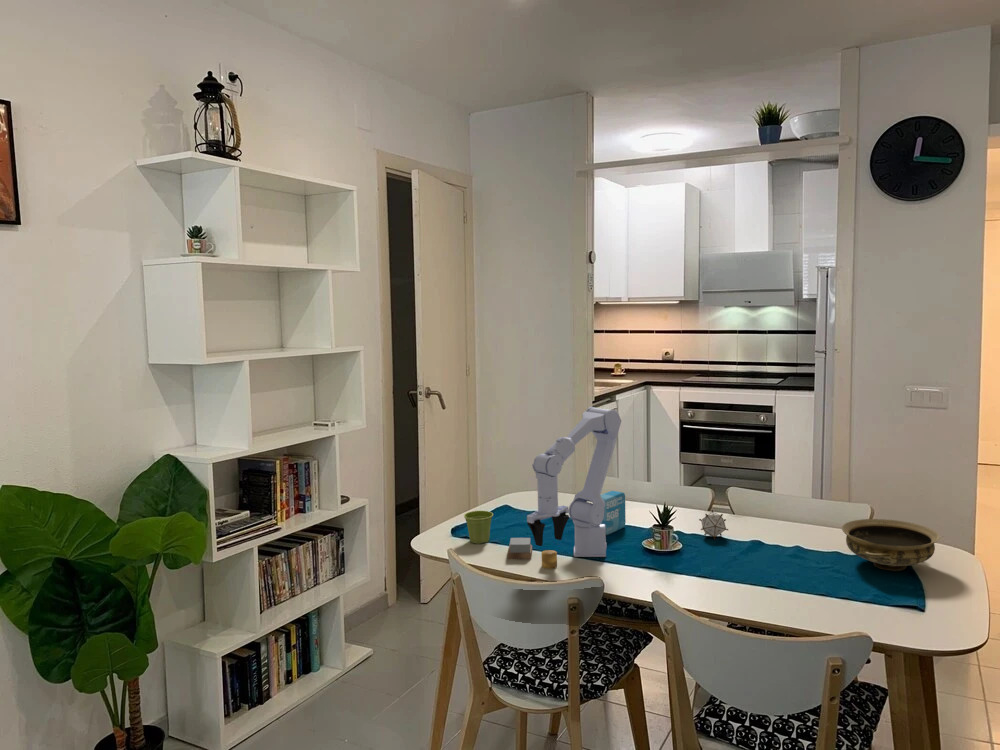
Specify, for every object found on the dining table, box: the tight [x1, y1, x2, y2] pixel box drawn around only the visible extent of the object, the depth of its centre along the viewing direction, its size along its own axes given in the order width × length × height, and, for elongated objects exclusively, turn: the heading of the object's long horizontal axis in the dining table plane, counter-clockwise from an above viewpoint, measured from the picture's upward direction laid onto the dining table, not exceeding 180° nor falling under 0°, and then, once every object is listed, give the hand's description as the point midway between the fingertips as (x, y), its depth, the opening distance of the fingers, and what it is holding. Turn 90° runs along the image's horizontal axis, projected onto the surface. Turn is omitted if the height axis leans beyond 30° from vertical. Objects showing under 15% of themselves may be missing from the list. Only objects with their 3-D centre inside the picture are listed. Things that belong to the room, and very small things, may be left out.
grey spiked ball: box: [698, 509, 729, 540], centre depth 238 cm, size 9×8×10 cm
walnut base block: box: [506, 544, 533, 560], centre depth 228 cm, size 7×7×2 cm
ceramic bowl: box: [841, 518, 940, 572], centre depth 209 cm, size 30×24×10 cm
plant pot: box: [463, 510, 494, 545], centre depth 241 cm, size 9×9×9 cm
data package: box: [600, 490, 626, 536], centre depth 248 cm, size 12×4×12 cm, turn 138°
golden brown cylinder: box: [541, 549, 558, 570], centre depth 218 cm, size 4×4×4 cm
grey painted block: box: [509, 537, 532, 553], centre depth 227 cm, size 6×6×2 cm
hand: (548, 542), depth 217 cm, fingers open, 7 cm apart
